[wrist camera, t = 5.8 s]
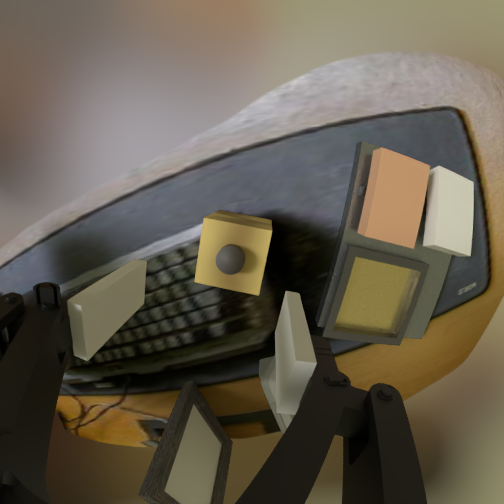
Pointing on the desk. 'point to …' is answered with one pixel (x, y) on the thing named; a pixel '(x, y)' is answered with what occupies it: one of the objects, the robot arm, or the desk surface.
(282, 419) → the digital clock
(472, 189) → the rocker plain
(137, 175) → the desk surface
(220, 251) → the tan wooden block
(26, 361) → the robot arm
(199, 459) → the picture frame
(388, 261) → the panel
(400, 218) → the orange tan rectangular block
